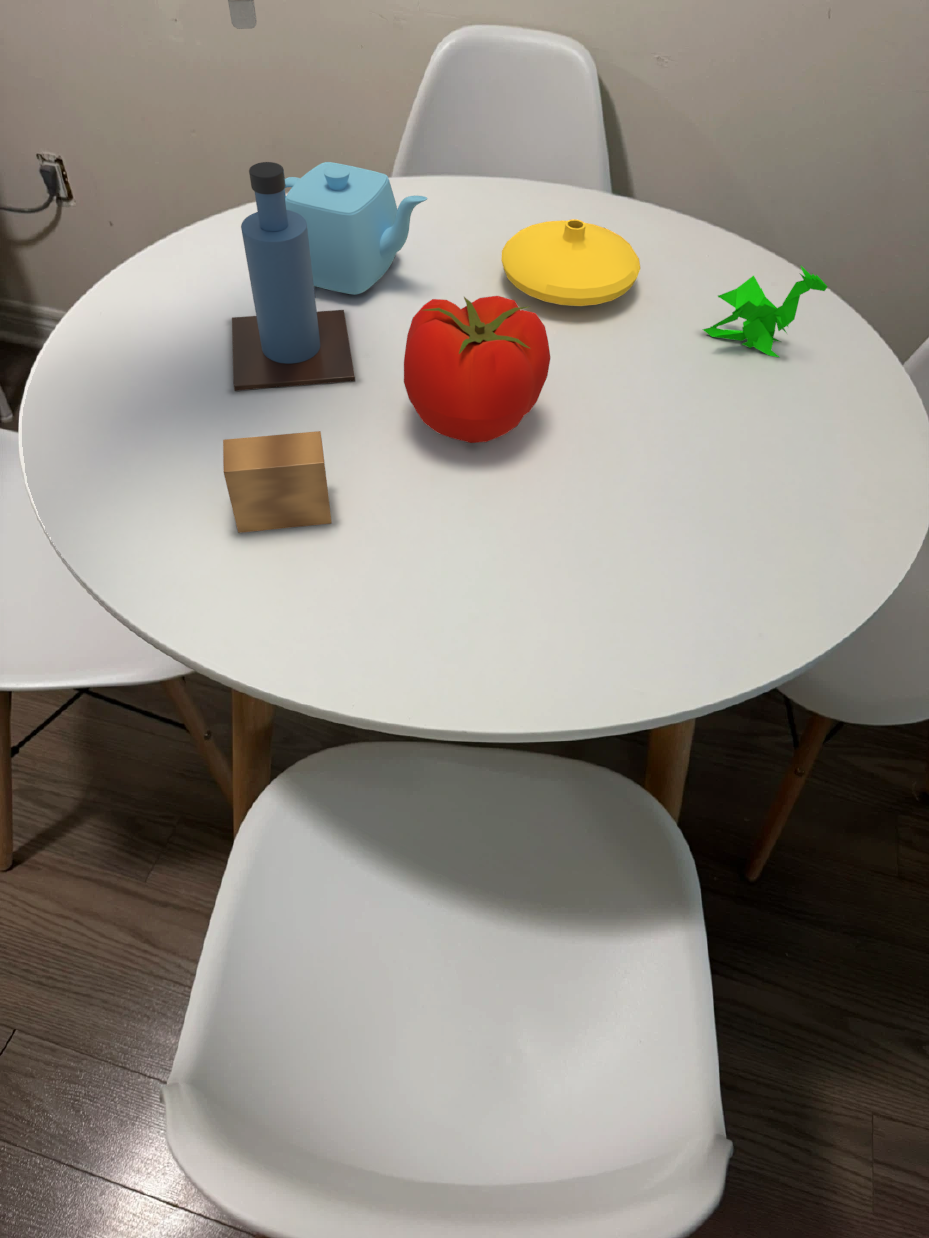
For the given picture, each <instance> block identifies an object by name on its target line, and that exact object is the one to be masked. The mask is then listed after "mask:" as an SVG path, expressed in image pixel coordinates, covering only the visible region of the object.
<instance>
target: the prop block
mask: <svg viewBox="0 0 929 1238" xmlns="http://www.w3.org/2000/svg"><path fill="white" fill-rule="evenodd" d="M323 446H324V445H323V438H322V432H321V430H317V431H304V432H295V433H283V434H271V435H270V434H269V435H259V436H249V437H248V436H247V437H236V438H235V437H234V438H225V439H222V465H223V466H222V469H223V470H222V471H223V477H224V480H225V484H226V488H227V492H228V497H229V500H230V501H229V502H230V505H231V509H232V513H233V517H234V521H235V526H236V529H237V533H238V534H243V533H251V532H260V531H271V530H281V529H291V528H301V527H309V526H320V525H330V524H332V514H331V506H330V496H329V487H328V480H327V471H326V464H325V463H326V462H325V454H324V448H323Z"/></svg>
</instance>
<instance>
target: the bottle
mask: <svg viewBox="0 0 929 1238" xmlns="http://www.w3.org/2000/svg"><path fill="white" fill-rule="evenodd" d="M248 173H249V180H250V186H251V190H252V191H253V193H254V197H255V204H256V210H257V211H256V212H253V213H251V214H249V215H248V216H246V217H245V218H244V219H243V220H242V222H241V225H240V230H241V235H242V241H243V247H244V253H245V258H246V264H247V270H248V271H247V272H248V277H249V281H250V287H251V294H252V300H253V305H254V311H255V316H256V317H257V323H258V329H259V335H260V341H261V346H262V351H263V353H264V355H265V356H266V357H267V358H269V359H271V360H273V361H275V362H279V363H285V364H293V363H300V362H303V361H306V360H308V359H310V358H312V357H313V356H315V355H316V354H317V353H318V351H319V349H320V338H319V328H318V319H317V312H318V310H317V302H316V295H315V294H316V293H315V286H314V283H313V274H312V265H311V256H310V247H309V238H308V229H307V222H306V220H305V219H304V217H302V216H301V215H300V214H298V213H296V212H293V211H289V210H286V202H285V195H286V194H285V195H284V189H285V190H286V188H285V186H286V184H285V179H286V177H285V171H284V167H283V166H282V165H281V164H279V163H277V162H273V161H261V162H257V163H255V164H252V165H251V166H250V167H249V170H248Z"/></svg>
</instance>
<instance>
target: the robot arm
mask: <svg viewBox="0 0 929 1238" xmlns="http://www.w3.org/2000/svg"><path fill="white" fill-rule="evenodd" d="M227 3H228V10H229V16H230V21H231V24H232V27H234V28H236V29H237V30H244V29H246V30H247V29H254V28H255V27H256V26H257V22H258V21H257V13H256V5H255V0H227Z"/></svg>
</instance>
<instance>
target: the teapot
mask: <svg viewBox="0 0 929 1238" xmlns="http://www.w3.org/2000/svg"><path fill="white" fill-rule="evenodd" d="M285 184H286V186H285V189H284V195H285V202H286V210H289V211H293V212H296V213H298V214H300V215H301V216H302V217H304V219H305V220H306V222H307V229H308V238H309V247H310V256H311V265H312V274H313V283H314V287H317V288H320V289H325V290H329V291H333V292H338V293H343V294H349V295H360V294H362V293H365V292H366V291H368V290H369V289H370V288H371V287H373V286H374V285H375V284H376V283H377V282H378V281H379V280H380V279H381V278H382V277H383V276H385V274H386V273H387V271H388V270H389V269H390V267H391V265H392V263H393V261H394V260H395V258H396V255H397V253H398V252H400V251H401V250H402V248H403V247H404V246H405V244H406V242H407V239H408V236H409V232H410V226H411V225H410V224H411V216H412V213H413V211H414V209H415V208H416V207H417V206H418V205H420V204H422V203H423V202H426V201H428V196H424V195H408V196H406V197H404V198H403V199H402V200H401V201H400V203H399V205H397V202H396V197H395V195H394V192H393V191H394V190H393V189H392V184H391V181H390V178H389V176H388V175H387V174H386V173H382V172H380V171H379V172H378V171H375V170H371V169H367V168H362V167H358V166H354V165H349V164H343V163H338V162H331V161H325V162H322V163H319V164H318V165H316V166H314V167H313V168H311V169H310V170H309V171H307V172H306V173H305V174H304V175H303V176H301V177H296V176H288V177H285ZM286 188H290V189H289V191H288V192H287V194H286Z"/></svg>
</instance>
